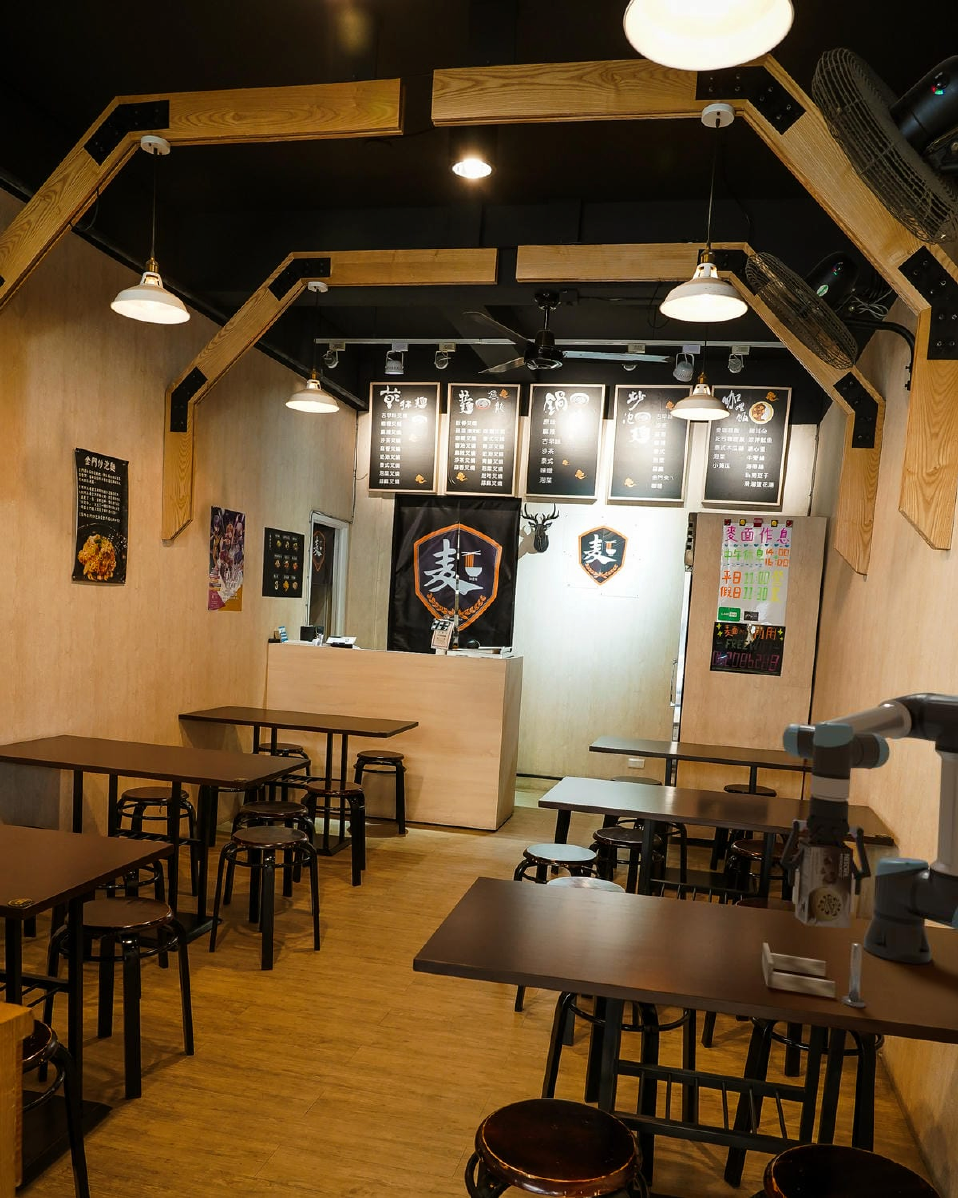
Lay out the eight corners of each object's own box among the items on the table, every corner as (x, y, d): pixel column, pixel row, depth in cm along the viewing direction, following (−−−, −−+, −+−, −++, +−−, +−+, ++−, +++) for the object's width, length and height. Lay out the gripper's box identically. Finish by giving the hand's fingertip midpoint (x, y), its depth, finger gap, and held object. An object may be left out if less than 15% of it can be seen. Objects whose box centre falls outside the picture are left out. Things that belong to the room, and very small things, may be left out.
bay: (824, 975, 200) (825, 952, 201) (834, 997, 187) (835, 973, 187) (761, 965, 204) (763, 942, 204) (767, 986, 190) (768, 963, 190)
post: (862, 1001, 186) (866, 943, 187) (867, 1009, 182) (870, 949, 182) (840, 997, 187) (844, 939, 188) (844, 1005, 183) (847, 946, 183)
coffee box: (836, 919, 187) (841, 841, 188) (850, 929, 180) (855, 848, 181) (793, 916, 186) (798, 838, 187) (805, 926, 180) (811, 845, 181)
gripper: (884, 801, 186) (877, 909, 185) (770, 788, 191) (763, 893, 190) (892, 807, 178) (885, 919, 177) (773, 793, 184) (766, 903, 182)
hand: (822, 906), depth 184 cm, fingers closed on coffee box, 10 cm apart
